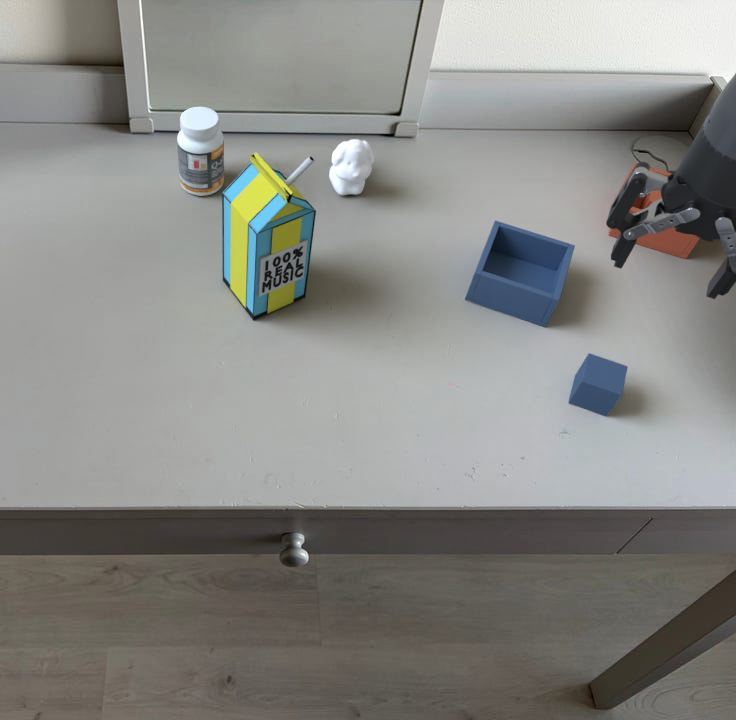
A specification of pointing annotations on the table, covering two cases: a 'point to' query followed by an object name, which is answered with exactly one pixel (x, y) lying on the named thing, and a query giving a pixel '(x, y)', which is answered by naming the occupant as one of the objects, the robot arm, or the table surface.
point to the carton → (266, 238)
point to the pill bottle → (200, 151)
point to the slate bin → (520, 273)
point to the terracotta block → (650, 199)
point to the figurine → (351, 166)
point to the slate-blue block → (598, 384)
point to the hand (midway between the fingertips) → (664, 277)
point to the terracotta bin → (666, 239)
